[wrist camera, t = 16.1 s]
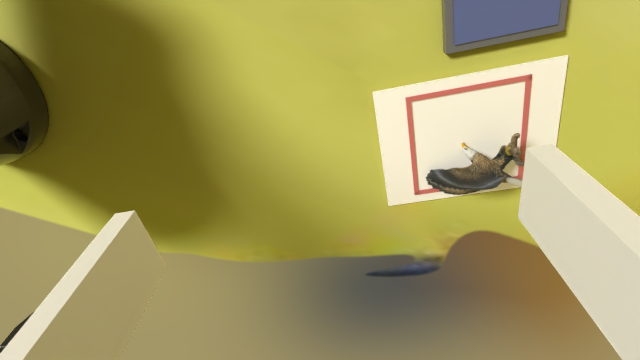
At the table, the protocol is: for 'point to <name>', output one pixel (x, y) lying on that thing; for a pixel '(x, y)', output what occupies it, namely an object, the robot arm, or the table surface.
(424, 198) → the print sheet
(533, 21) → the ink pad
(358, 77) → the table surface
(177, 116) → the table surface
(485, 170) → the eagle figurine
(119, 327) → the robot arm
